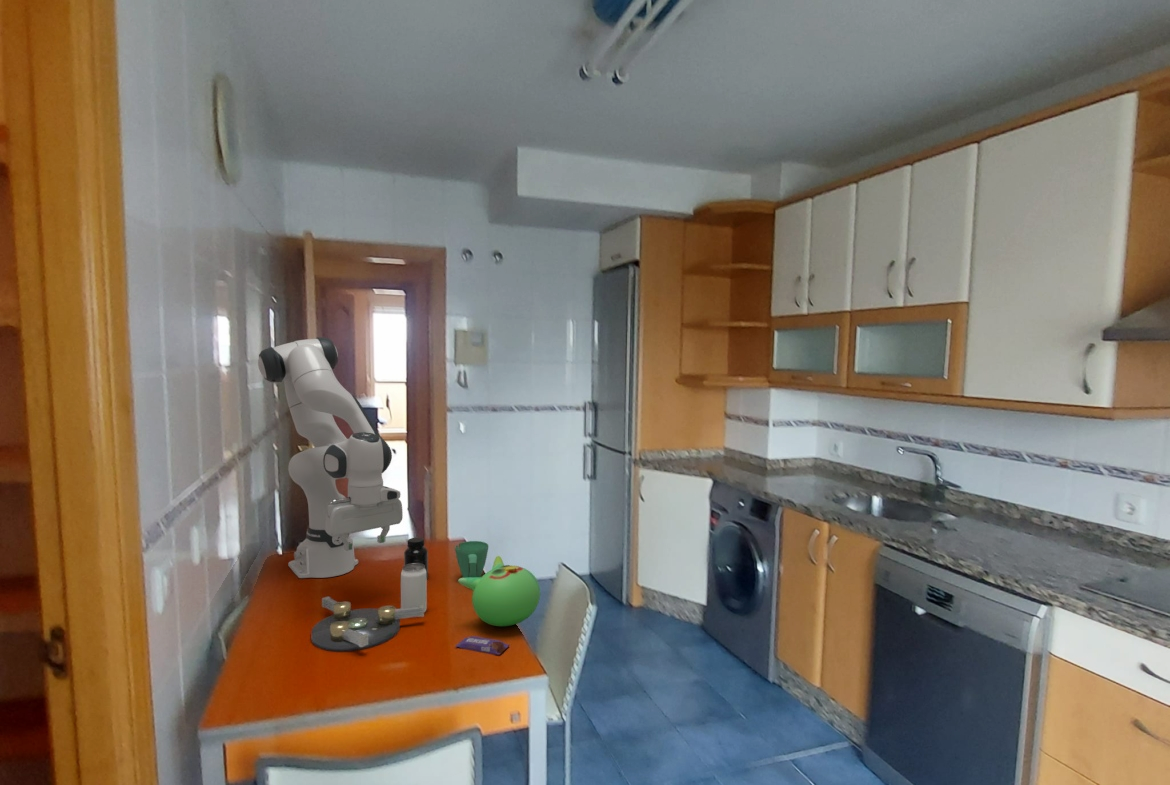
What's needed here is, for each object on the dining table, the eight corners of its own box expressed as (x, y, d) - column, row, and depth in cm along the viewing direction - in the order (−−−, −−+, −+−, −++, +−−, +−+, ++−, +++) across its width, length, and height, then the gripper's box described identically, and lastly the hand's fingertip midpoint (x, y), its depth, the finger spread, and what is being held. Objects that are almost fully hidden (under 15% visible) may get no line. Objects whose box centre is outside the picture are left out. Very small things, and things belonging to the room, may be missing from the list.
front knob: (326, 638, 141) (326, 625, 141) (341, 632, 145) (341, 619, 145) (357, 650, 136) (357, 637, 135) (372, 643, 139) (372, 630, 139)
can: (419, 618, 157) (419, 571, 156) (396, 615, 158) (396, 569, 158) (430, 607, 163) (430, 563, 163) (408, 605, 165) (408, 561, 164)
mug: (454, 574, 189) (454, 542, 188) (487, 571, 191) (487, 540, 191) (455, 591, 175) (455, 557, 174) (490, 589, 177) (490, 555, 176)
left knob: (378, 625, 149) (378, 613, 148) (378, 618, 152) (378, 606, 152) (424, 619, 152) (424, 607, 152) (423, 613, 156) (423, 601, 156)
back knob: (353, 616, 154) (353, 604, 153) (338, 621, 151) (338, 609, 150) (332, 604, 161) (332, 593, 161) (317, 609, 158) (317, 597, 158)
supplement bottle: (400, 578, 185) (400, 539, 184) (421, 573, 189) (421, 534, 189) (410, 584, 180) (410, 544, 179) (432, 579, 184) (431, 539, 184)
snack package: (454, 642, 141) (465, 633, 146) (454, 650, 141) (465, 641, 146) (499, 650, 137) (509, 640, 142) (499, 658, 138) (509, 649, 142)
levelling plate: (296, 633, 148) (296, 620, 148) (372, 607, 163) (372, 596, 163) (337, 660, 135) (337, 647, 135) (416, 630, 150) (415, 618, 150)
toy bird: (510, 643, 144) (511, 582, 143) (455, 627, 152) (455, 569, 151) (551, 615, 159) (552, 560, 158) (499, 602, 168) (499, 549, 167)
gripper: (332, 503, 152) (332, 557, 153) (405, 491, 167) (405, 541, 168) (321, 498, 157) (320, 551, 158) (393, 487, 172) (393, 535, 173)
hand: (365, 546), depth 163 cm, fingers open, 8 cm apart
